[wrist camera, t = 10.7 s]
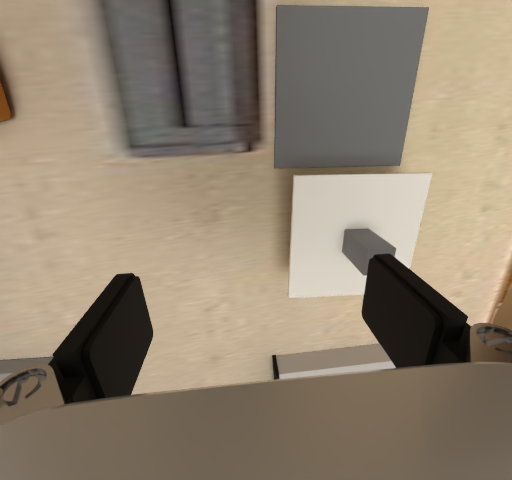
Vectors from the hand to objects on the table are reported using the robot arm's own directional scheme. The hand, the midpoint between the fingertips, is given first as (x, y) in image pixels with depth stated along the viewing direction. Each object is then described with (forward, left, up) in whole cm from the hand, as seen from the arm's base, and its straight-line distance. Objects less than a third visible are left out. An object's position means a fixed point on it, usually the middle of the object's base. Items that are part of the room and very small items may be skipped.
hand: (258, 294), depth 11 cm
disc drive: (+41, +16, -29) cm, 53 cm away
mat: (-11, +14, -29) cm, 34 cm away
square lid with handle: (+6, +14, -21) cm, 26 cm away
